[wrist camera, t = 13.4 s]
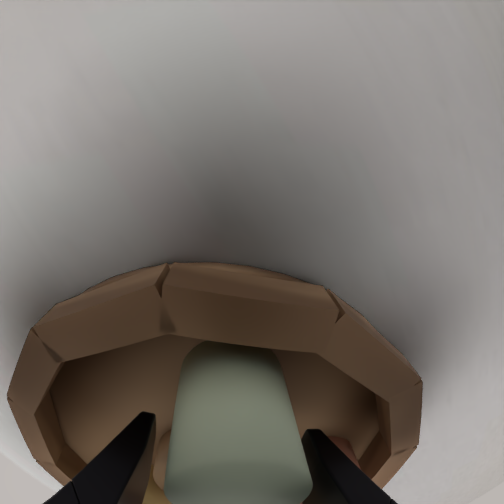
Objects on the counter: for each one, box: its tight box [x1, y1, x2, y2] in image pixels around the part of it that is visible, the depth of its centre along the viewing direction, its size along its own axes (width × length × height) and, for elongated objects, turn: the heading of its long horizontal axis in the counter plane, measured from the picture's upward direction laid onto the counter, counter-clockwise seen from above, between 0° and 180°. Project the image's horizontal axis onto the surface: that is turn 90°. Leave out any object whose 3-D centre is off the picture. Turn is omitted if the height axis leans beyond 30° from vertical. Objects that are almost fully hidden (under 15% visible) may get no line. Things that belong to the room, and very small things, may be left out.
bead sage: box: [163, 340, 313, 504], centre depth 8 cm, size 4×4×5 cm
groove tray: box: [7, 262, 423, 491], centre depth 11 cm, size 18×18×2 cm
